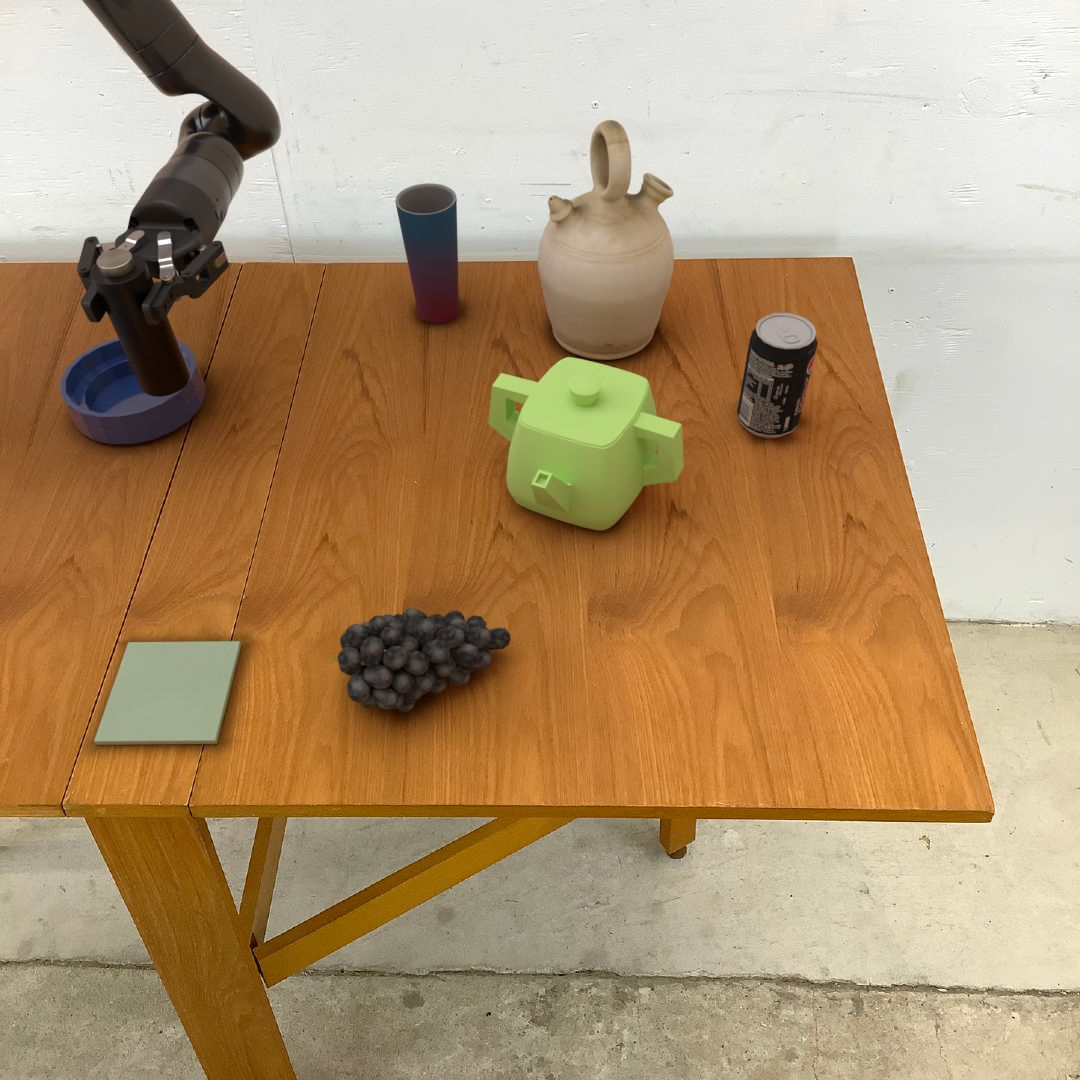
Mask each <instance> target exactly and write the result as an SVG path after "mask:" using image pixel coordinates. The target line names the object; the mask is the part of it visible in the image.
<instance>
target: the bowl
mask: <svg viewBox="0 0 1080 1080" xmlns="http://www.w3.org/2000/svg"><path fill="white" fill-rule="evenodd" d="M176 340H177V342H178V345H179V347H180V350H181V352H182V355H183V357H184V360H185V362H186V365H187V368H188V370H189V373H190V380H189V382H188V384H187V385H186V386H185V387H184V388H183V389H181V390H180V391H178V392H176V393H174V394H171V395H168V396H162V397H156V396H150V395H148V394H146V393H144V392H143V391H142V389H141V387H140V385H139V382H138V380H137V378H136V376H135V374H134V371H133V369H132V367H131V365H130V362H129V360H128V358H127V356H126V354H125V351H124V349H123V347H122V345H121V343H120V340H119V338H118V337H115V338H112V339H110V340H107V341H104V342H101V343H99V344H96V345H94V346H93V347H90V348H89V349H87V350H86V351H84V352H83V353H81V354H79V355H78V356H77V357H76V358H74V360H73V361H72V362H71V363H69V365H68V366H67V367H66V369H65V371H64V372H63V374H62V376H61V378H60V380H59V395H60V397H61V400H62V401H63V403H64V405H65V407H66V409H67V411H68V413H69V414H70V417H71V419H72V421H73V423H74V424H75V426H76V428H77V429H78V431H79V432H80V433H81V434H82V435H84V436H86V437H87V438H89V439H91V440H92V441H96V442H98V443H99V442H100V443H104V444H109V445H135V444H139V443H143V442H148V441H154V440H156V439H158V438H160V437H163V436H166V435H168V434H170V433H173V432H175V431H176V430H178V429H179V428H180V427H182V426H184V425H185V424H186V423H188V422H189V421H190V420H191V419H192V418H193V417H194V416H195V414H196V413H198V411H199V410H200V409H201V408H202V406H203V402H204V400H205V397H206V394H207V393H206V385H205V381H204V377H203V374H202V372H201V369H200V365H199V363H198V360H197V357H196V354H195V353H194V352H193V350H192V349H191V348H190V346H189V345H188V344H187V343H185V342H183V341H181V340H180V339H177V338H176Z"/></svg>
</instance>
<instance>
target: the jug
mask: <svg viewBox="0 0 1080 1080" xmlns="http://www.w3.org/2000/svg"><path fill="white" fill-rule="evenodd" d="M589 165H590V173H591V179H592V183H593V187H592V189H591V191H588V192H585V193H582V194H580V195H578V196H576V197H574V198H572V199H568V198H562V197H560V196H558V195H551V196H550V197H549V198H548V199H547V205H548V209H549V216H548V217H549V220H548V222H547V223H546V225H545V227H544V230H543V232H542V235H541V238H540V241H539V246H538V250H537V251H538V253H537V270H538V275H539V281H540V286H541V290H542V295H543V299H544V304H545V308H546V313H547V316H548V319H549V322H550V325H551V327H552V329H551V330H552V334H553V336H554V338H555V340H556V342H557V343H558V344H559V345H560V346H561V347H562V348H563V350H566V351H567V352H569V353H571V354H573V355H576V356H578V357H581V358H585V359H589V360H595V361H612V360H619V359H622V358H627V357H629V356H633V355H635V354H637V353H638V352H640V351H642V350H643V349H644V348H645V347H647V346H648V344H649V343H650V342H651V340H652V339H653V337H654V335H655V331H656V329H657V327H658V324H659V321H660V317H661V314H662V309H663V306H664V302H665V300H666V298H667V297H666V296H667V295H668V292H669V288H670V284H671V281H672V277H673V272H674V266H675V251H674V244H673V239H672V235H671V232H670V230H669V227H668V225H667V223H666V221H665V219H664V217H663V216H662V214H661V213H660V211H659V206H660V205H662V203H664V202H666V200H667V199H670V198H671V197H673V196H674V193H675V192H674V190H673V189H672V187H670V185H668V184H667V183H666V182H665V181H663V179H661V178H660V177H657V176H656V175H654V174H651V173H649V172H645V173H643V177H642V178H643V179H642V183H641V185H640V190H639V191H638V192H637V193H629V192H628V191H629V188H630V185H631V179H632V151H631V145H630V140H629V137H628V134H627V132H626V129H625V128H624V126H623V125H622V123H620V122H619V121H617V120H615V119H607V120H604V121H601V122H600V123H599V124H597V126H595V128H594V130H593V131H592V134H591V138H590V146H589Z"/></svg>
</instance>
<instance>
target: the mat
mask: <svg viewBox="0 0 1080 1080" xmlns="http://www.w3.org/2000/svg"><path fill="white" fill-rule="evenodd" d="M242 646H243V645H242V641H240V640H224V641H221V640H219V641H218V640H215V641H206V640H205V641H128V642H127V645H126V647H125V650H124V653H123V656H122V660H121V662H120V665H119V667H118V670H117V674H116V676H115V679H114V682H113V684H112V688H111V691H110V694H109V696H108V699H107V702H106V705H105V708H104V710H103V714H102V717H101V720H100V723H99V725H98V729H97V731H96V734H95V737H94V740H93V743H94V744H95V745H96V746H101V745H102V746H103V745H105V746H107V745H108V746H113V745H116V746H117V745H122V746H123V745H127V746H128V745H217V744H218V741H219V737H220V734H221V730H222V725H223V721H224V717H225V714H226V710H227V705H228V702H229V697H230V693H231V689H232V685H233V682H234V677H235V674H236V670H237V666H238V661H239V658H240V654H241V649H242Z"/></svg>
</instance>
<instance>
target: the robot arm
mask: <svg viewBox="0 0 1080 1080" xmlns="http://www.w3.org/2000/svg"><path fill="white" fill-rule="evenodd" d="M81 1H82V2H83V4H84V5H85V6H86V7H87V9H89V11H90V12H91V13H92V15H93V16H94V17H95V18H96V19H97V20H98V22H99V23H100V24H101V25H102V27H103V28H104V29H105V30H106V31H107V33H108V34H109V35H110V36H111V38H112V39H113V40H114V41H115V42H116V43H117V45H118V46H119V47H120V49H122V50H123V52H124V53H125V54H126V55H127V56H128V57H129V59H130V60H131V61H132V62H133V63H134V64H135V65H136V67H137V68H138V69H139V70H140V71H141V72H142V74H143V75H144V76H145V77H146V78H147V79H148V80H149V82H150V83H151V84H152V85H153V86H154V88H156V90H158V91H159V92H160V93H161V94H163V95H164V96H166V97H170V98H171V97H180V96H185V95H199V96H202V97H203V98H205V99H206V100H207V101H204V102H203V103H201V104H199V105H198V106H196V107H194V108H193V109H192V110H191V111H189V112H188V114H187V115H186V116H185V117H184V119H183V120H182V122H181V124H180V127H179V133H178V138H177V144H176V145H177V147H176V148H175V150H174V151H173V153H172V155H171V156H170V158H168V161H167V162H166V163H165V164H164V165H163V166H162V167H161V168H160V169H159V170H158V171H157V173H156V174H155V175H154V176H153V178H152V180H151V181H150V183H149V184H148V185H147V187H146V189H145V190H144V192H143V193H142V195H141V197H140V198H139V199H138V200H137V202H136V204H135V205H134V207H133V209H132V210H131V212H130V215H129V220H128V223H127V229H126V230H125V231H124V232H123V233H122V234H120V235H118V236H117V237H116V239H114V241H111V242H101V243H100V241H99V238H98V236H96V235H95V236H93V235H91V236H88V237H87V238H85V239H84V242H83V244H82V249H81V252H80V257H79V260H78V264H77V267H76V272H77V275H78V276H79V279H80V281H81V283H82V285H83V287H84V290H85V293H84V295H83V296H82V297H81V299H80V305H81V307H82V309H83V312H84V314H85V316H86V317H87V319H88V321H89V322H90V323H100V322H101V321H102V320H103V318H104V316H105V315H106V314H107V311H106V309H105V307H104V305H103V303H102V300H101V298H100V296H99V294H98V291H97V289H96V287H95V285H94V283H93V280H92V278H91V275H90V272H91V269H92V267H93V266H94V265H95V264H96V263H97V259H98V257H99V256H100V255H101V254H103V253H105V252H107V251H109V250H113V249H125V250H128V251H129V252H130V253H135V254H138V255H140V256H142V257H143V258H144V259H145V261H146V263H147V266H148V269H149V271H150V274H151V276H152V279H156V280H160V281H154V285H153V286H152V288H151V290H150V292H149V293H148V295H147V297H146V298H145V300H144V302H143V304H142V311H143V314H144V316H145V318H146V321H147V323H148V324H149V325H158V323H159V322H160V320H163V319H164V318H165V317H166V316H167V317H168V315H169V313H170V311H171V309H172V308H173V306H174V304H175V303H177V302H179V301H181V299H182V297H185V296H188V297H189V298H190V299H193V300H196V299H199V298H201V297H202V296H203V295H204V294H205V293H206V292H207V290H209V288H210V287H211V286H212V285H213V284H214V283H215V282H216V281H217V280H218V279H219V278H220V277H221V276H222V275H223V274H224V273H225V272H226V271H227V269H228V268H229V267H230V263H229V260H228V256H227V253H226V250H225V247H224V243H223V242H222V241H221V240H215V239H216V236H217V234H218V233H219V231H220V229H221V228H222V226H223V224H224V221H225V220H226V218H227V215H228V211H229V207H230V205H231V204H232V202H233V200H234V198H235V196H236V195H237V193H238V190H239V188H240V186H241V184H242V182H243V178H244V174H245V166H244V162H245V163H246V162H247V161H249V160H250V159H252V158H254V157H256V156H258V155H260V154H263V153H264V152H267V151H268V150H270V149H271V148H273V147H274V146H275V145H277V143H278V142H279V140H280V138H281V134H282V122H281V120H280V115H279V111H278V110H277V107H276V106H275V104H274V103H273V101H272V100H271V98H270V97H269V95H268V94H267V93H266V91H264V90H263V89H262V88H261V87H260V86H259V85H258V84H257V83H256V82H254V81H253V80H251V79H250V78H249V77H248V76H247V75H245V74H244V73H243V72H242V71H240V70H239V69H238V68H237V67H235V66H234V65H233V64H232V63H230V62H229V61H228V60H226V59H225V58H224V57H223V56H222V55H220V53H218V52H217V51H215V50H214V49H213V48H212V47H211V46H209V45H208V44H207V43H206V42H205V40H203V39H202V37H201V36H200V34H199V33H198V32H197V31H196V29H195V28H194V27H193V25H192V24H191V23H190V21H188V19H187V17H186V16H185V15H184V14H183V13H182V12H181V10H180V9H179V7H177V5H176V4H175V3H174V2H173V0H81ZM197 277H198V279H197Z"/></svg>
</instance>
